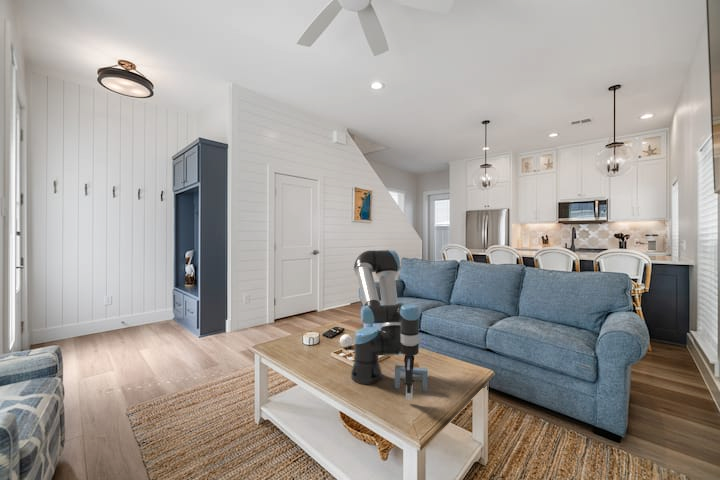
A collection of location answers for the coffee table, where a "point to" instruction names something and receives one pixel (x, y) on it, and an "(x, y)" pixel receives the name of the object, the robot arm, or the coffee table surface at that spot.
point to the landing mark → (415, 376)
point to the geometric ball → (346, 340)
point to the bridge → (415, 370)
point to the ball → (415, 364)
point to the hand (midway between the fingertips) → (409, 399)
